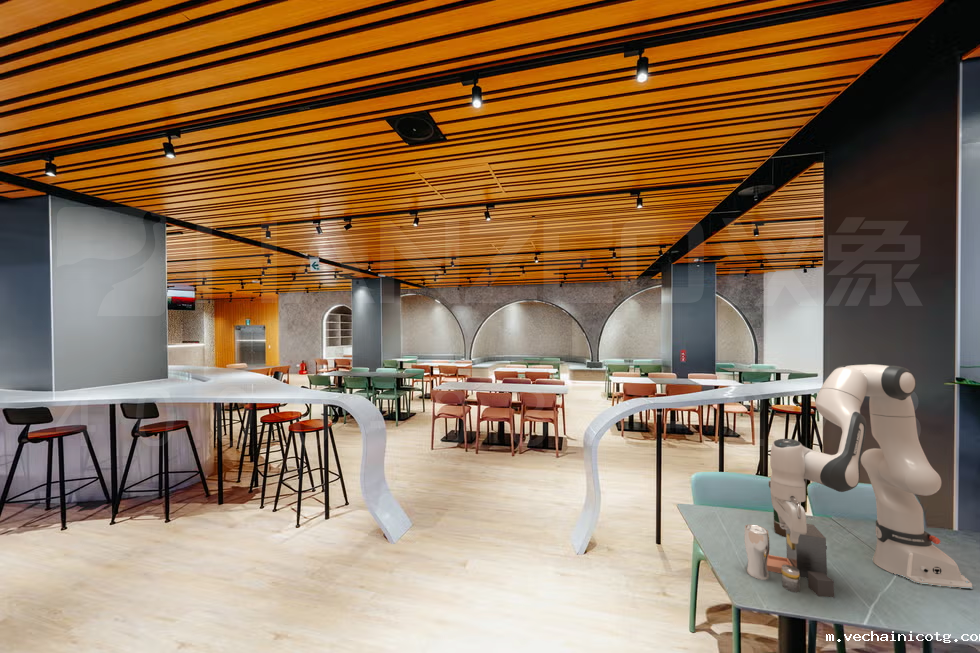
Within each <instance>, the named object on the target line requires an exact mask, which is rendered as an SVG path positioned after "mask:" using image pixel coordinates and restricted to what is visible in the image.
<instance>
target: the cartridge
mask: <svg viewBox="0 0 980 653" xmlns="http://www.w3.org/2000/svg"><path fill="white" fill-rule="evenodd" d="M781 572H782V573H781V585H782V588H784V589H785V590H786V591H788V592H791V593H800V591H801V586H800V584H801V583H800V580H801V579H800V578H801V577H800V573H799V570H798V569H797V568H795V567H793V566H790V565H782V568H781Z"/></svg>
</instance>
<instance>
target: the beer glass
mask: <svg viewBox="0 0 980 653" xmlns="http://www.w3.org/2000/svg"><path fill="white" fill-rule="evenodd" d="M769 536H770V535H769V530H768V529H767V528H765V527H763V526H760V525H756V524H746V525H745V526H744V536H743V537H744V546H745V548H744V549H745V551H746V552H745V553H746V557H747V567H746V572H747V574H748V575H749V576H750V577H752V578H754V579H757V580H760V581H767V580H769V578H770V575H769V571H768V570H767V562H768V556H769V555H770V548H771V547H770V545H771V544H770V537H769Z"/></svg>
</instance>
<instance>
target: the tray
mask: <svg viewBox="0 0 980 653" xmlns="http://www.w3.org/2000/svg"><path fill="white" fill-rule="evenodd" d="M782 565H790V566H793V565H792V563H791V562H790V560H789V559H788V558H787V557H784V556H778V555H772V554H769V556H768V562H767V570H768V572H770V573H771V572H772V573H778V574H782V572H781V568H782Z"/></svg>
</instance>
